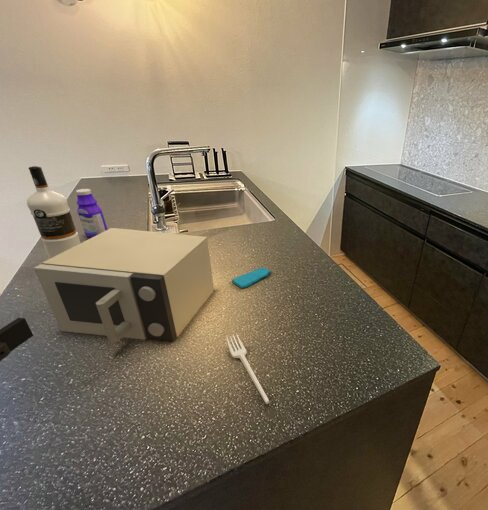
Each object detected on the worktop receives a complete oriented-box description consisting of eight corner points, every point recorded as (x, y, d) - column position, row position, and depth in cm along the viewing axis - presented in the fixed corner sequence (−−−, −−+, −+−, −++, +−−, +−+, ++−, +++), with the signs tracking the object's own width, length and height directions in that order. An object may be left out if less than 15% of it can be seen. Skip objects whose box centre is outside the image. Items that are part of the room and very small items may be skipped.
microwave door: (129, 357, 64) (108, 291, 57) (39, 347, 65) (6, 281, 57) (149, 335, 71) (132, 273, 63) (66, 326, 71) (40, 264, 63)
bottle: (81, 237, 112) (66, 190, 104) (95, 231, 117) (81, 187, 109) (99, 240, 111) (85, 193, 103) (112, 234, 116) (99, 189, 108)
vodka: (96, 259, 99) (66, 164, 85) (72, 273, 91) (34, 171, 77) (69, 256, 99) (34, 162, 86) (42, 270, 91) (-1, 168, 77)
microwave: (171, 345, 69) (156, 280, 61) (59, 333, 69) (30, 268, 62) (214, 290, 89) (207, 236, 81) (126, 281, 89) (111, 227, 82)
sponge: (274, 273, 97) (264, 265, 101) (241, 287, 89) (230, 277, 92) (274, 277, 98) (264, 269, 101) (241, 291, 90) (230, 281, 93)
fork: (259, 409, 56) (259, 402, 55) (225, 343, 70) (224, 337, 69) (276, 401, 58) (276, 394, 57) (239, 338, 72) (238, 332, 71)
